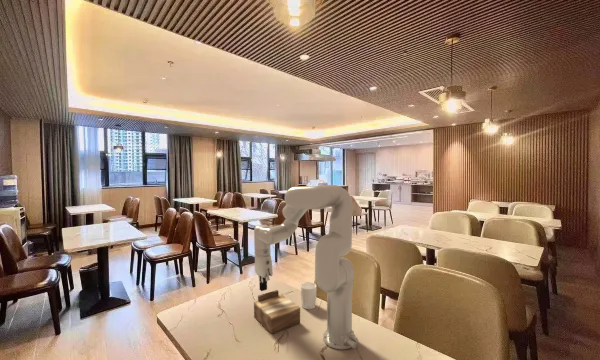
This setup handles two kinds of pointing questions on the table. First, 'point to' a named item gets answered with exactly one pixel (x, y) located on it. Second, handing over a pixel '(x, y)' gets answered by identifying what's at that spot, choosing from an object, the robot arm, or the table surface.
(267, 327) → the tea box
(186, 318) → the table surface
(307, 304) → the white cup
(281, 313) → the tea box lid
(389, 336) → the table surface
